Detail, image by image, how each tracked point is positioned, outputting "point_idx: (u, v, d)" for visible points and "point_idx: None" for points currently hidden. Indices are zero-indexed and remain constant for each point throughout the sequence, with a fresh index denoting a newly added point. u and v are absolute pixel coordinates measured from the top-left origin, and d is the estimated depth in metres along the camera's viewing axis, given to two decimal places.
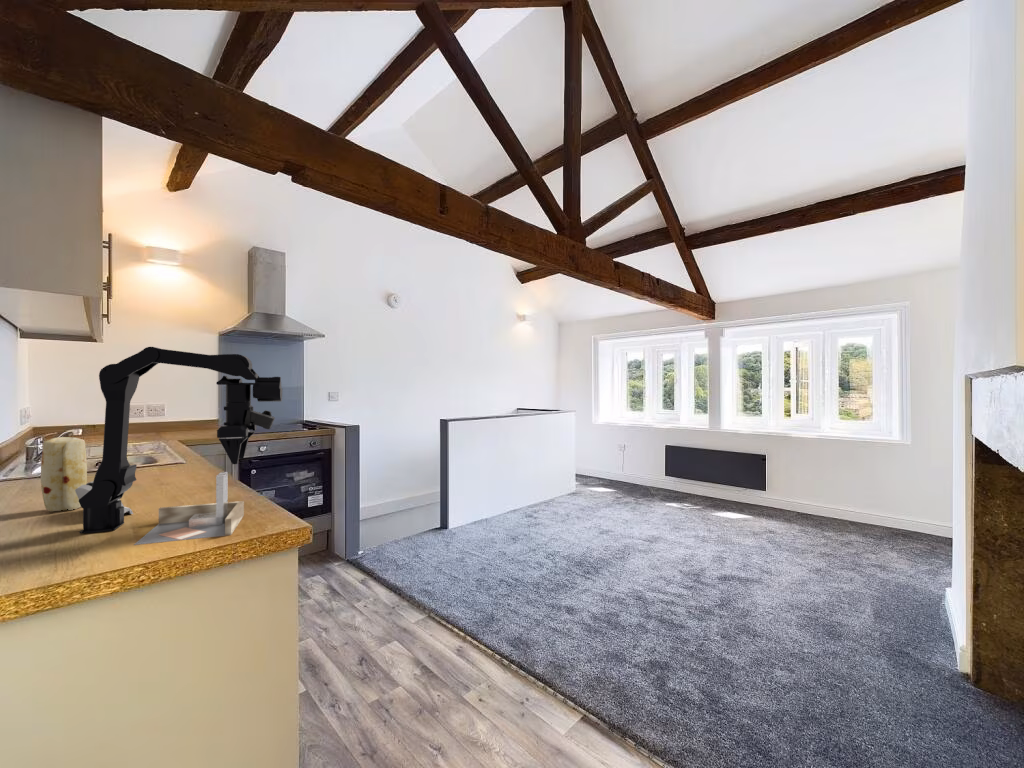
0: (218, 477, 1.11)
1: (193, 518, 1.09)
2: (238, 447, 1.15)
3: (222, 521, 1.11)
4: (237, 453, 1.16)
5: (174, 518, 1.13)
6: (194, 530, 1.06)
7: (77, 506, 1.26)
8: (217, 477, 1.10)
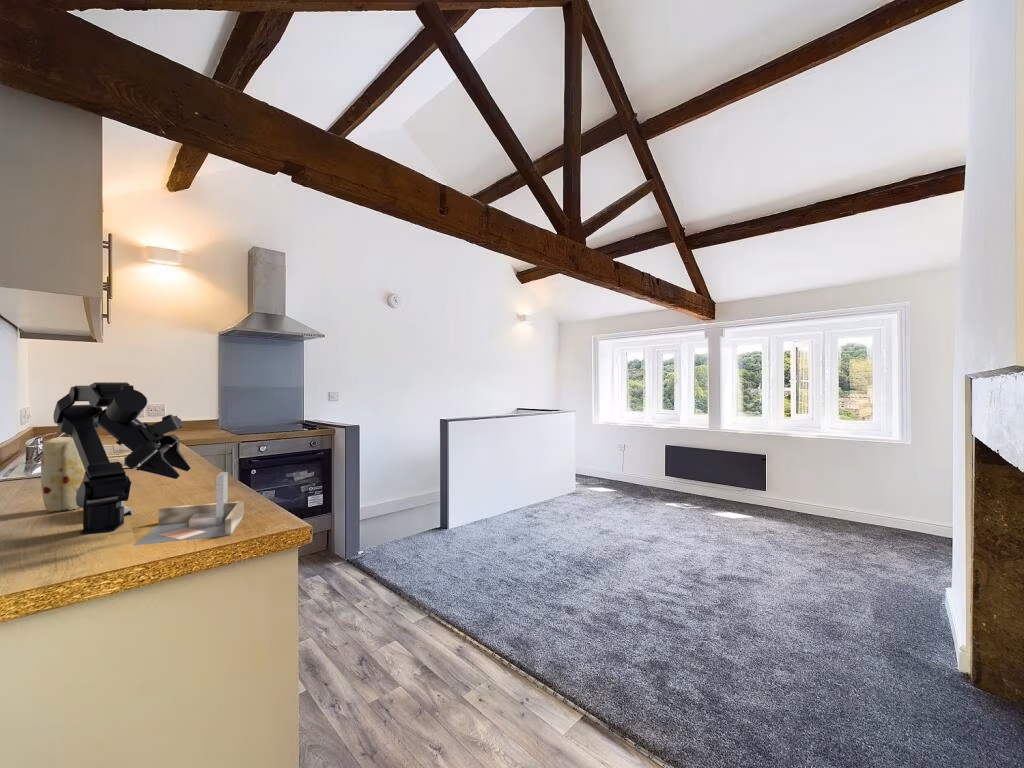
0: (218, 477, 1.11)
1: (193, 518, 1.09)
2: (163, 462, 1.03)
3: (222, 521, 1.11)
4: (170, 467, 1.05)
5: (174, 518, 1.13)
6: (194, 530, 1.06)
7: (77, 506, 1.26)
8: (217, 477, 1.10)
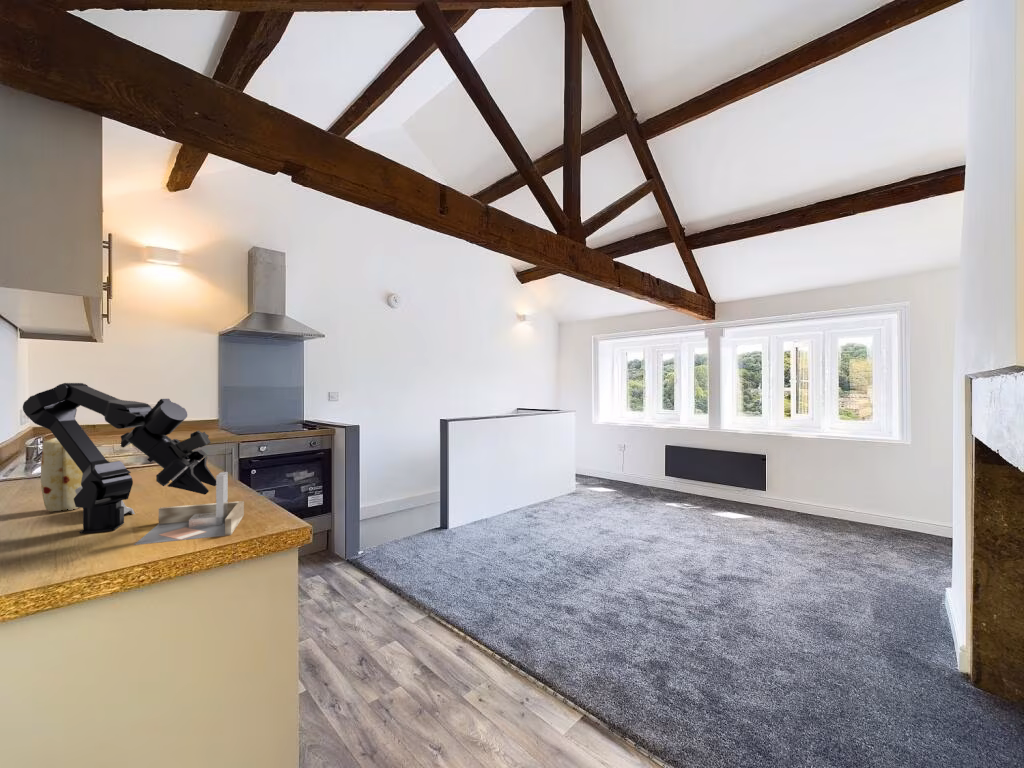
0: (218, 477, 1.11)
1: (193, 518, 1.09)
2: (193, 478, 1.05)
3: (222, 521, 1.11)
4: (199, 483, 1.06)
5: (174, 518, 1.13)
6: (194, 530, 1.06)
7: None
8: (217, 477, 1.10)
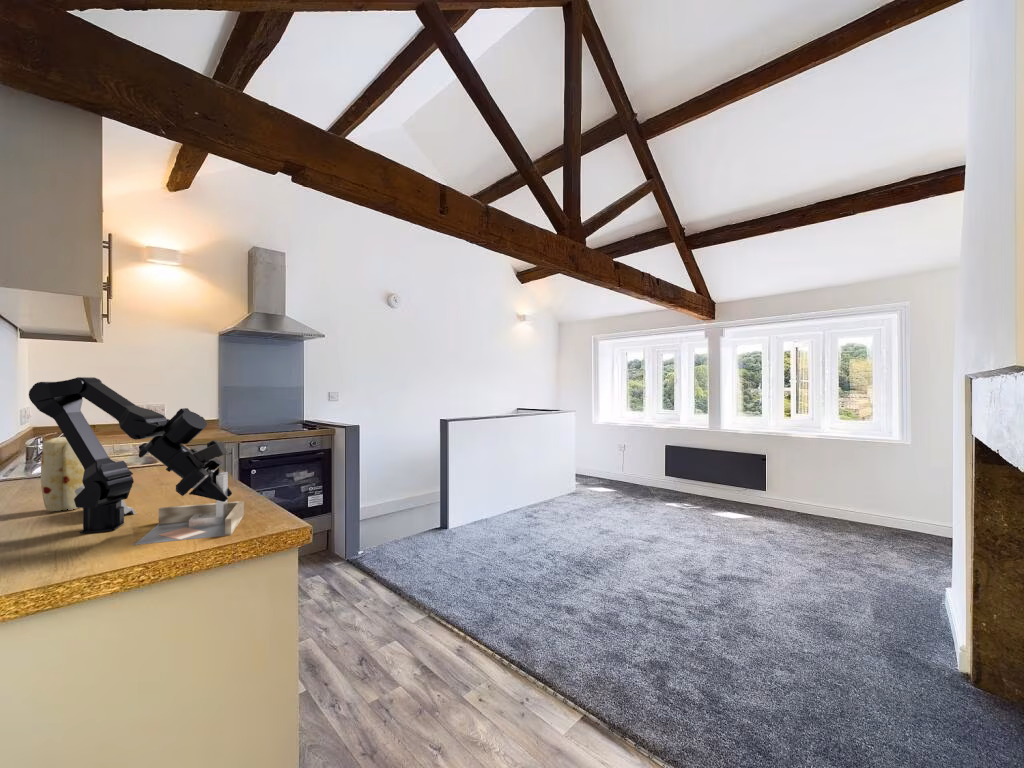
0: (218, 477, 1.11)
1: (193, 518, 1.09)
2: (213, 486, 1.09)
3: (222, 521, 1.11)
4: (219, 491, 1.10)
5: (174, 518, 1.13)
6: (194, 530, 1.06)
7: None
8: (217, 477, 1.10)
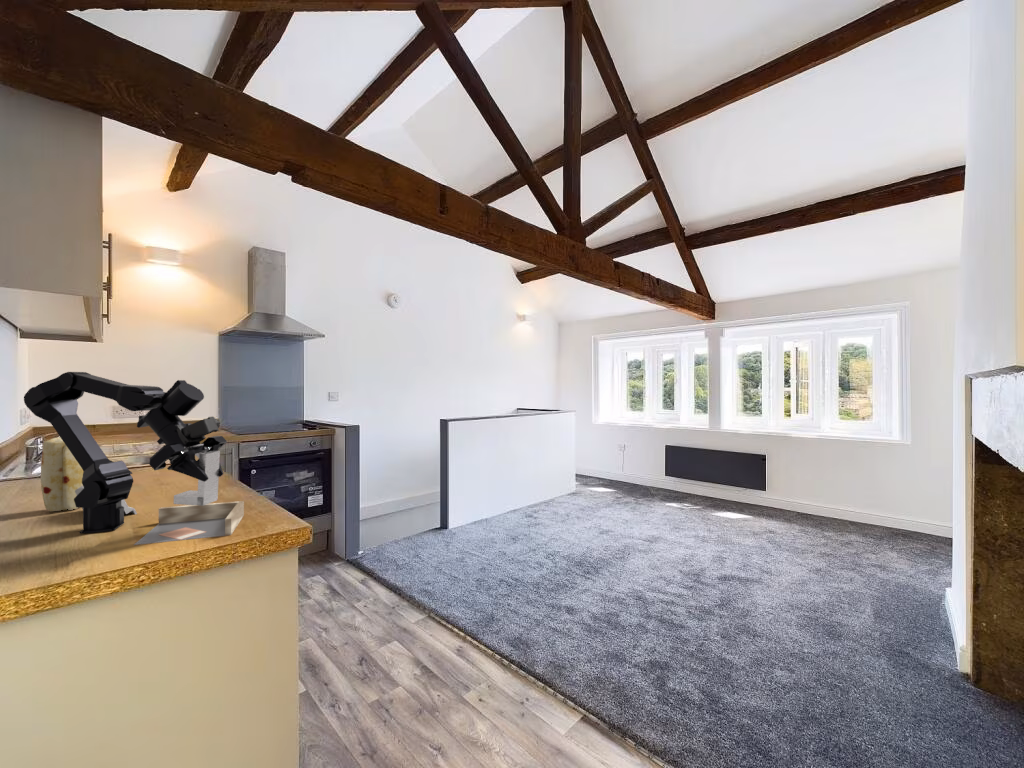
0: (201, 455, 1.06)
1: (179, 494, 1.07)
2: (192, 464, 1.04)
3: (203, 502, 1.06)
4: (198, 469, 1.05)
5: (174, 518, 1.13)
6: (194, 530, 1.06)
7: None
8: (200, 455, 1.06)
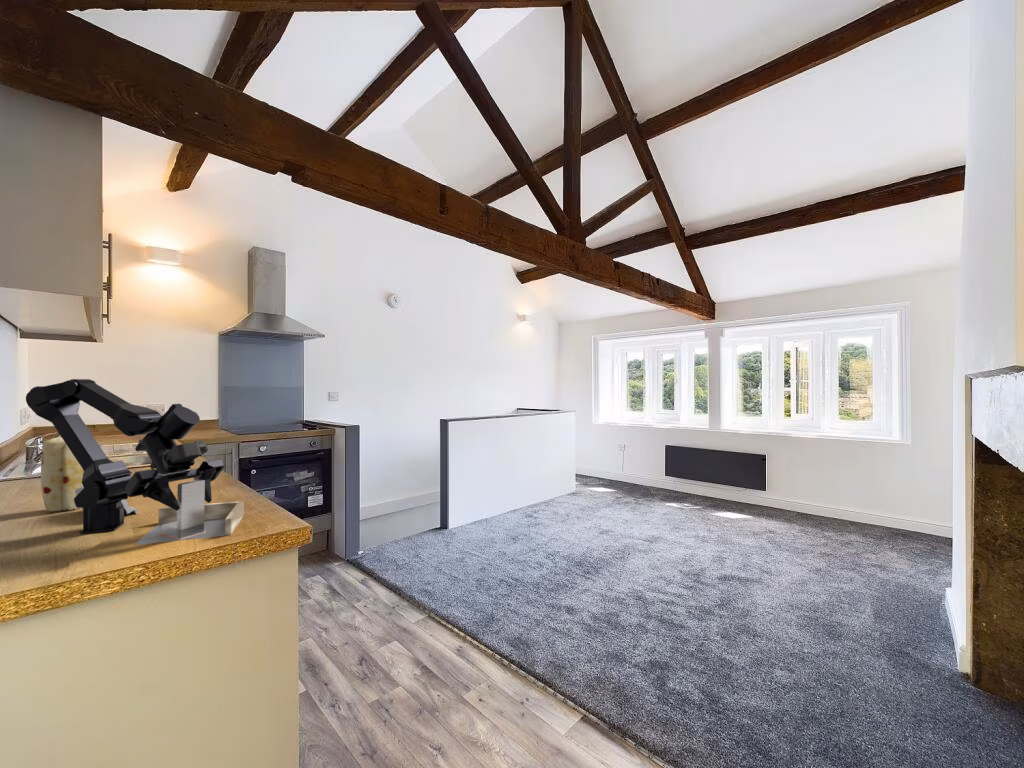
0: (179, 485, 1.01)
1: (167, 524, 1.04)
2: (163, 492, 0.99)
3: (180, 534, 1.01)
4: (170, 498, 0.99)
5: (174, 518, 1.13)
6: None
7: None
8: (178, 485, 1.01)
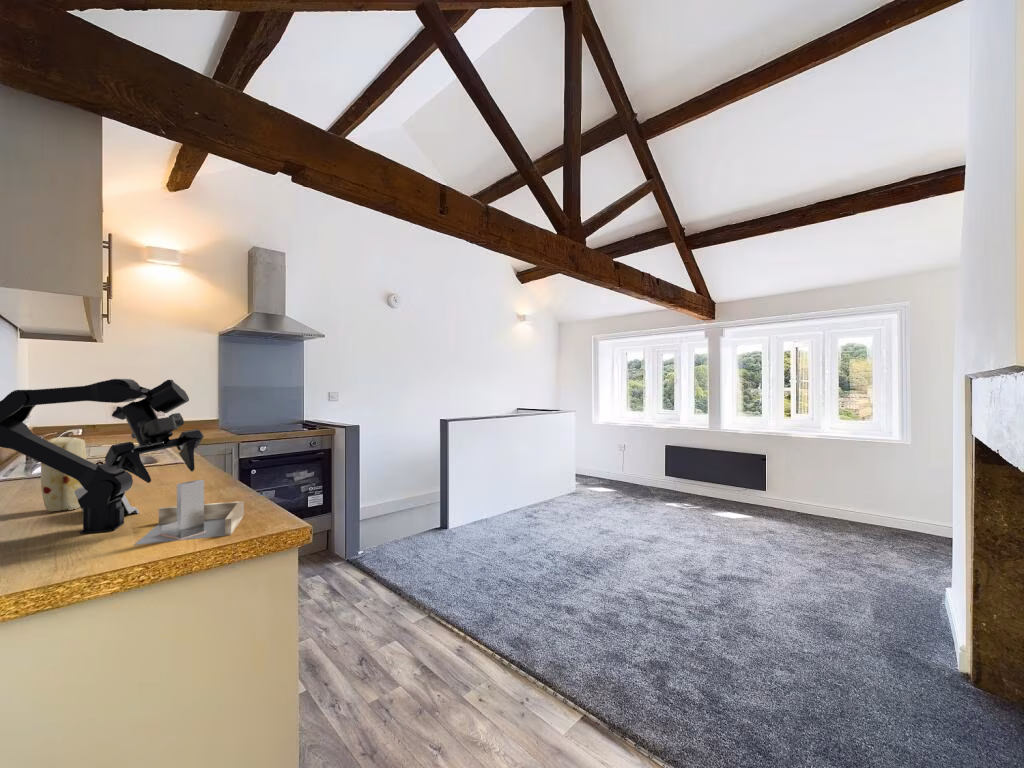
0: (178, 485, 1.01)
1: (167, 525, 1.04)
2: (135, 465, 1.03)
3: (180, 534, 1.01)
4: (141, 471, 1.04)
5: (174, 518, 1.13)
6: None
7: (77, 506, 1.26)
8: (177, 485, 1.01)
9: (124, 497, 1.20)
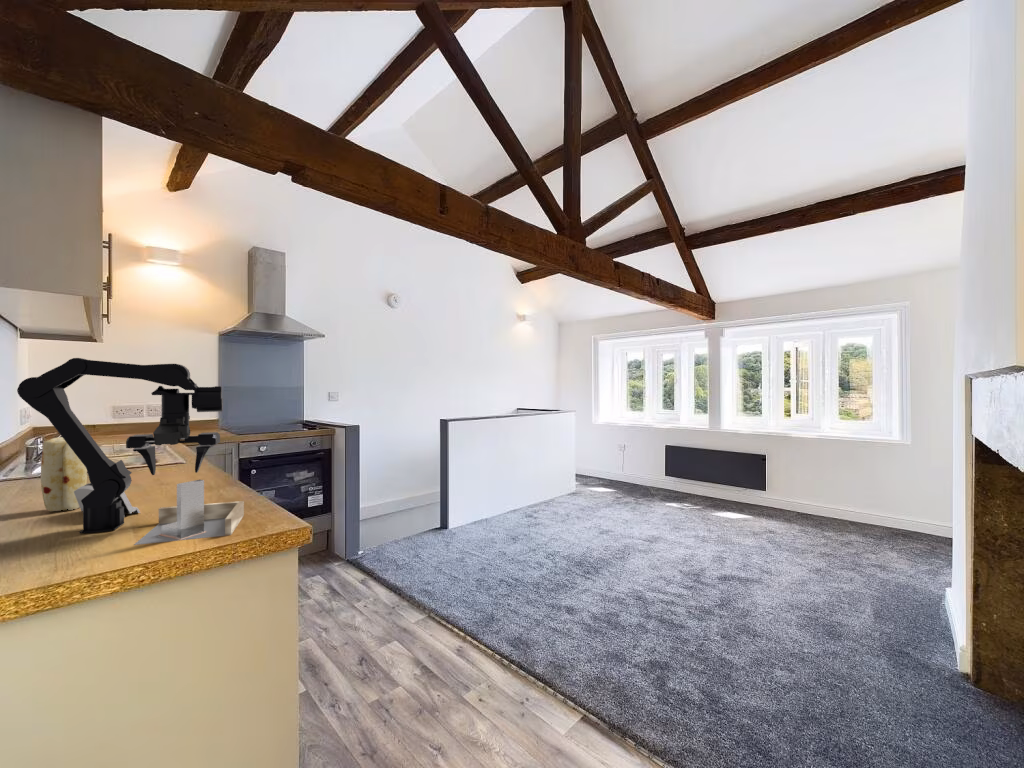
0: (178, 485, 1.01)
1: (167, 525, 1.04)
2: None
3: (180, 534, 1.01)
4: None
5: (174, 518, 1.13)
6: None
7: (77, 506, 1.26)
8: (177, 485, 1.01)
9: (125, 497, 1.20)
